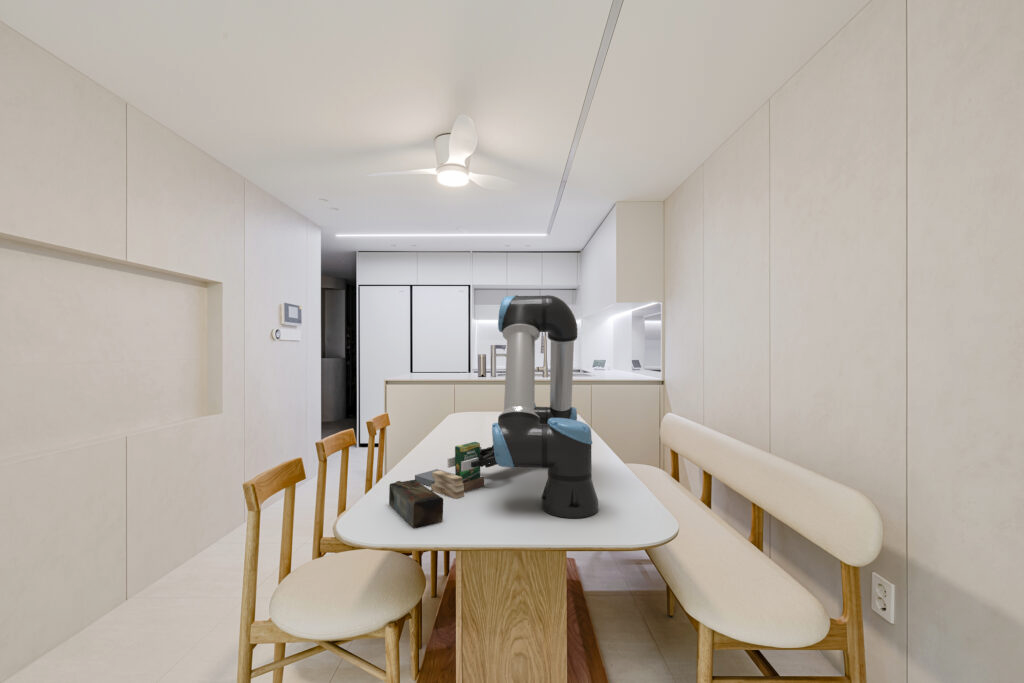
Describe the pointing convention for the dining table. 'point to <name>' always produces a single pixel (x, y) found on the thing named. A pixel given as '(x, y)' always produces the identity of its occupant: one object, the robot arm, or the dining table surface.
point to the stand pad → (427, 477)
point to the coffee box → (464, 454)
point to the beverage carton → (416, 503)
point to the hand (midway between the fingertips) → (455, 464)
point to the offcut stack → (448, 484)
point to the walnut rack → (473, 484)
